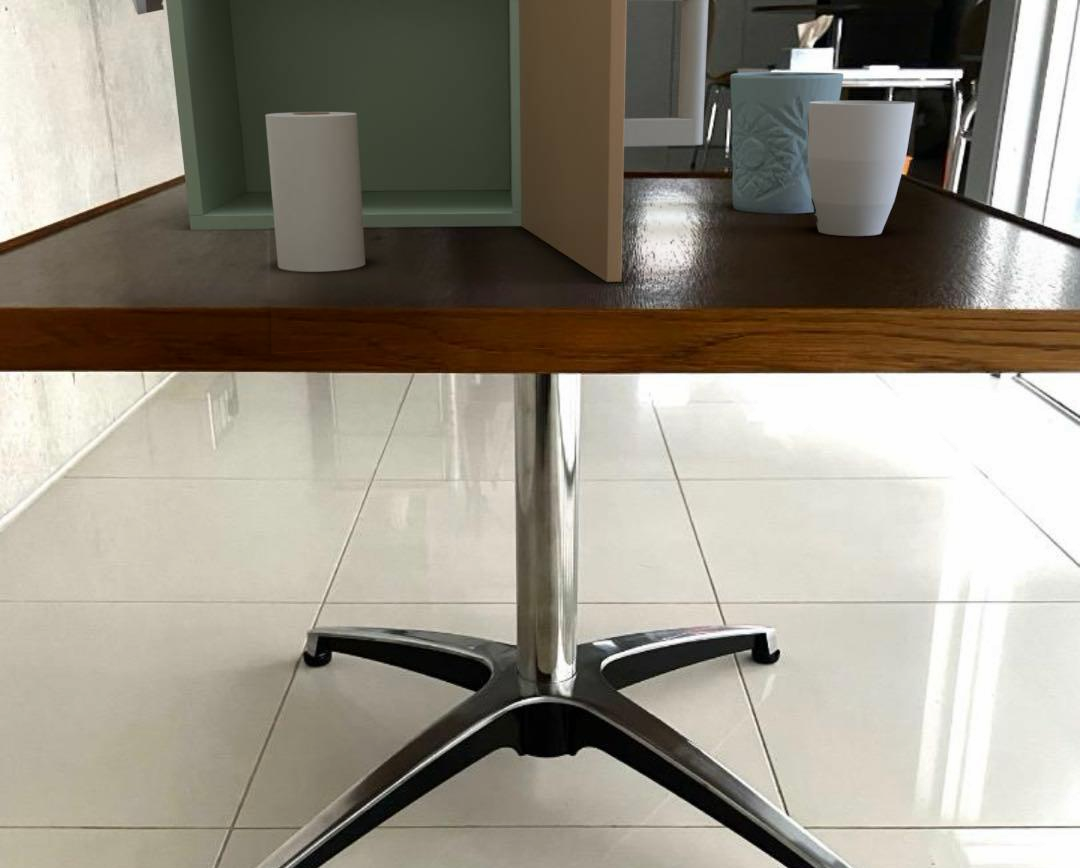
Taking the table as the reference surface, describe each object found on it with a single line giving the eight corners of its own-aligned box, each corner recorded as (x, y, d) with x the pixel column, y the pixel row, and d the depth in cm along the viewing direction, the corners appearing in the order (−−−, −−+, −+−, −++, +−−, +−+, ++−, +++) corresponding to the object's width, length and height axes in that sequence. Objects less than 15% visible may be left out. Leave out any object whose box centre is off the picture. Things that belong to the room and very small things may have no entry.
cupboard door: (599, 224, 104) (603, -121, 95) (708, 278, 78) (730, -189, 69) (521, 226, 103) (517, -123, 93) (606, 282, 77) (613, -193, 67)
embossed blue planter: (821, 202, 120) (831, 71, 116) (842, 214, 111) (855, 73, 106) (718, 202, 120) (724, 72, 116) (730, 215, 111) (738, 73, 106)
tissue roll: (303, 276, 81) (291, 115, 77) (263, 265, 85) (249, 113, 82) (381, 267, 84) (373, 113, 81) (338, 256, 89) (329, 110, 85)
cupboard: (526, 227, 104) (523, -124, 94) (190, 230, 103) (152, -124, 93) (522, 201, 122) (519, -94, 113) (237, 203, 122) (210, -93, 112)
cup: (848, 223, 105) (858, 99, 101) (922, 233, 99) (937, 102, 95) (778, 230, 101) (787, 102, 97) (852, 241, 95) (864, 104, 91)
